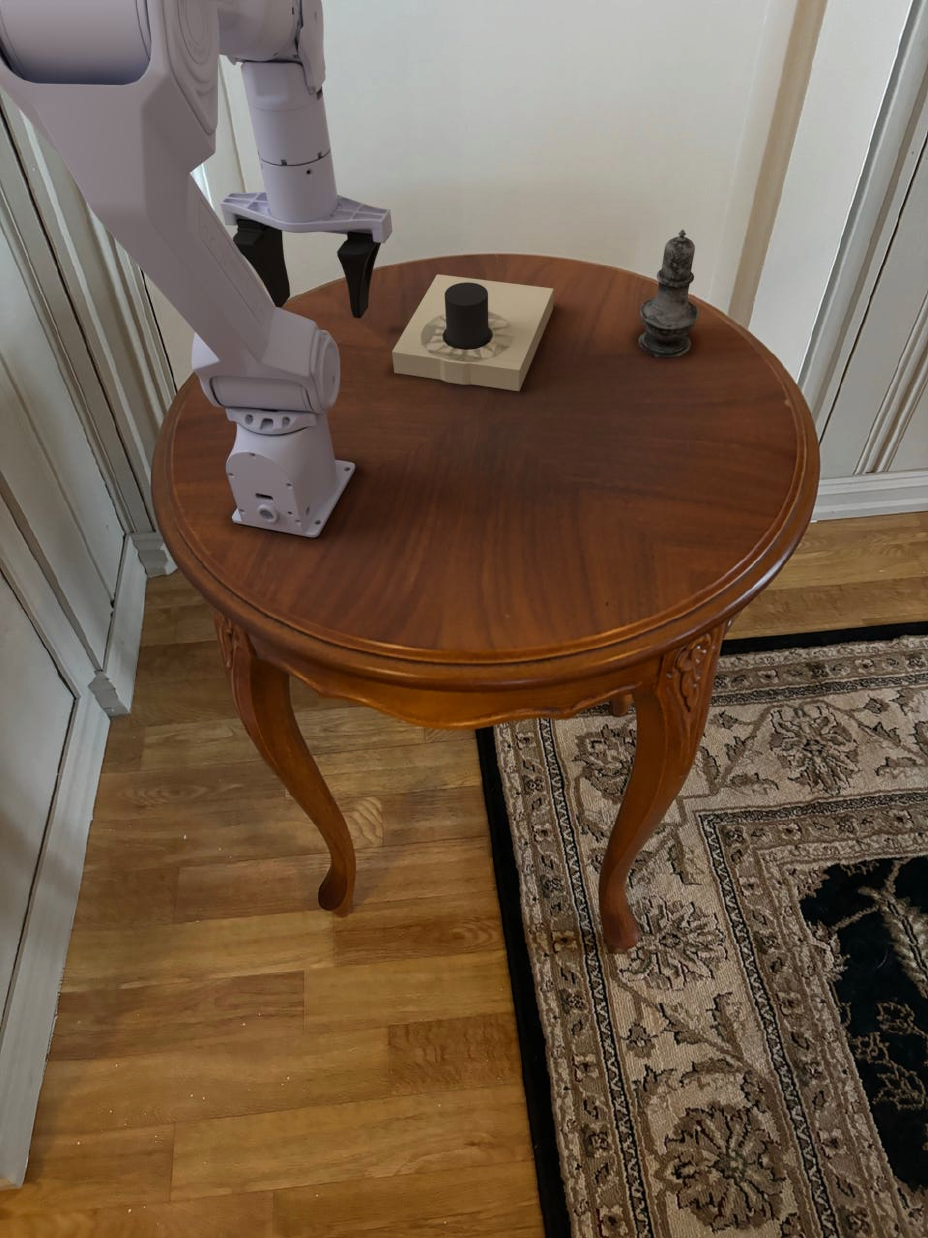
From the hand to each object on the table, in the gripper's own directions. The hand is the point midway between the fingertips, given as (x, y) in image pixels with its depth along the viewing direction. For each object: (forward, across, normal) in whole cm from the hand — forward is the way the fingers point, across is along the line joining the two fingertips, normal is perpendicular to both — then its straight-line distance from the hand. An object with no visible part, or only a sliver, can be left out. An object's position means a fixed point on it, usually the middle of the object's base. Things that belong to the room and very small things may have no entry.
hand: (321, 306), depth 81 cm
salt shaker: (+10, -30, -16) cm, 35 cm away
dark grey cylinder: (+9, -11, -9) cm, 17 cm away
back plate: (+9, -11, -12) cm, 19 cm away
